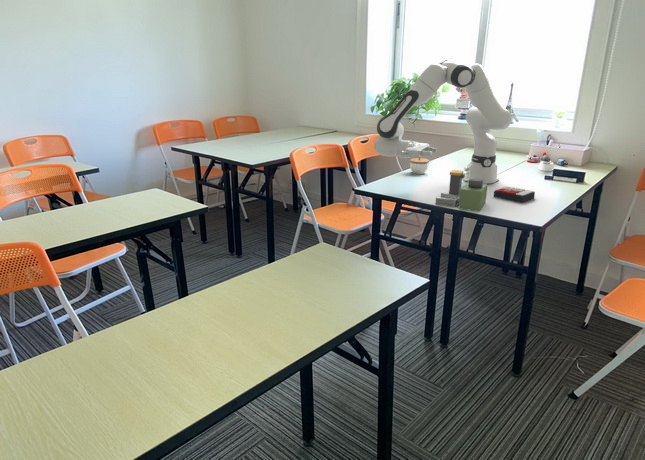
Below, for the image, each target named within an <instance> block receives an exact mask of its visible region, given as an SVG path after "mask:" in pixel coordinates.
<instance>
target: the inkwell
mask: <svg viewBox="0 0 645 460" xmlns="http://www.w3.org/2000/svg"><path fill="white" fill-rule="evenodd" d="M554 163H555V162H553V161H552V160H551V159H550V157H549V156H548V155H546V154H545V155H543V156H541V158H540V162H539V164H538V167H537V170H539V171H543V172H553V171H552V169H555V164H554Z"/></svg>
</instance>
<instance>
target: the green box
mask: <svg viewBox="0 0 645 460" xmlns="http://www.w3.org/2000/svg"><path fill="white" fill-rule="evenodd" d="M487 191H488V184H483V180H481V179H469V182H468V181H466V183H465V184H464V185H463V186H461V189H460V200H459V203H458V209H459V208H462V210H467V209H470V210H469V211H474V210H476V211H475V212H480V211H481V210H482V208H483V207H484V206H485V205H486V200H487Z"/></svg>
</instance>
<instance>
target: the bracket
mask: <svg viewBox="0 0 645 460" xmlns="http://www.w3.org/2000/svg"><path fill="white" fill-rule="evenodd" d="M459 200H460V195H455V194H449V193H445V192H441V193H440V197H435V204H436V205H438V206H439V205H440V206H448V207H454V206H455V207H457V205H459Z"/></svg>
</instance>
